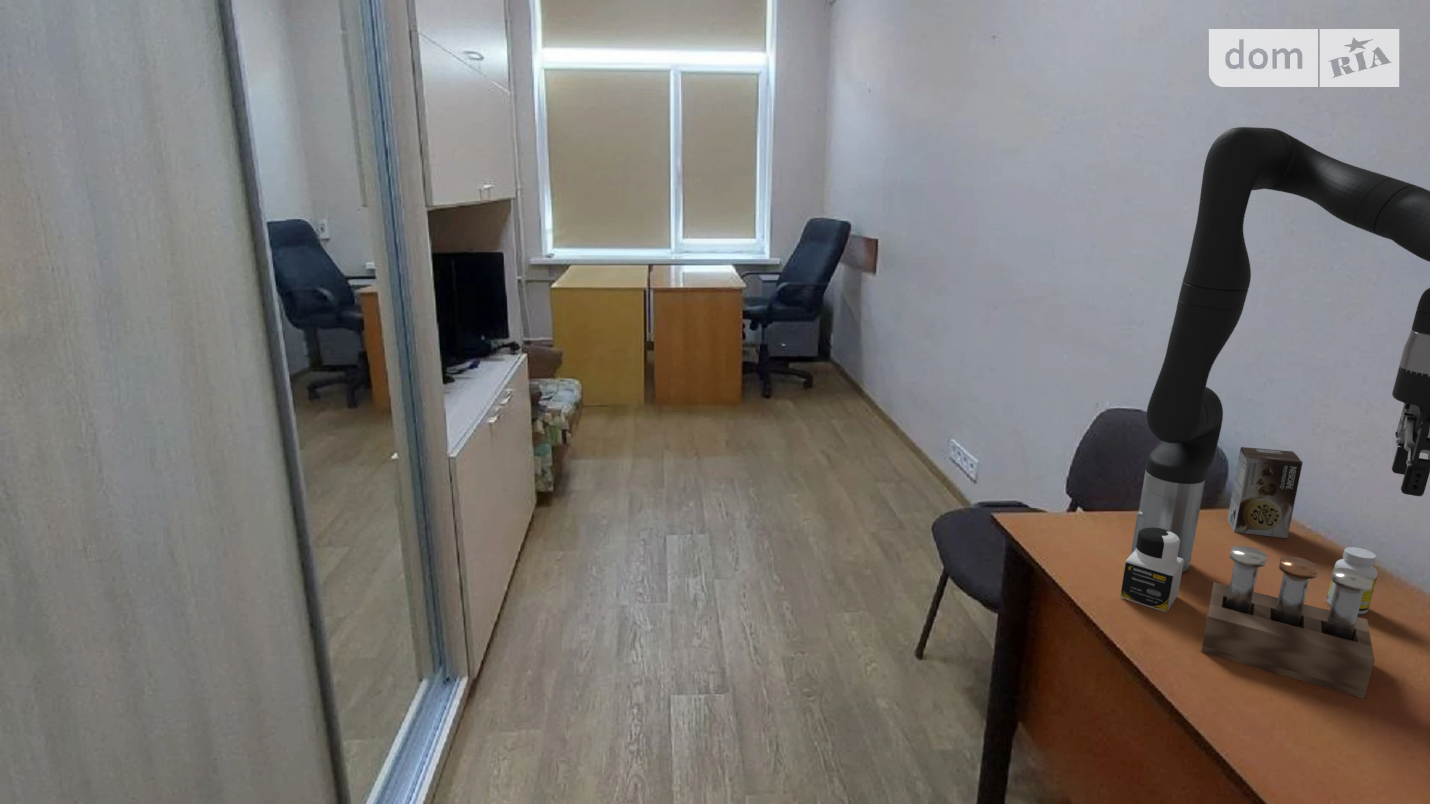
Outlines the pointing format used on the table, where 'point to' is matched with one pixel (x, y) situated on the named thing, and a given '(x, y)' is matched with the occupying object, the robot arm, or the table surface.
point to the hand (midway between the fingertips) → (1406, 483)
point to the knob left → (1244, 577)
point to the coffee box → (1264, 492)
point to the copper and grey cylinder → (1293, 589)
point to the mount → (1289, 643)
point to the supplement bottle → (1360, 562)
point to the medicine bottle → (1153, 569)
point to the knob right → (1346, 601)
